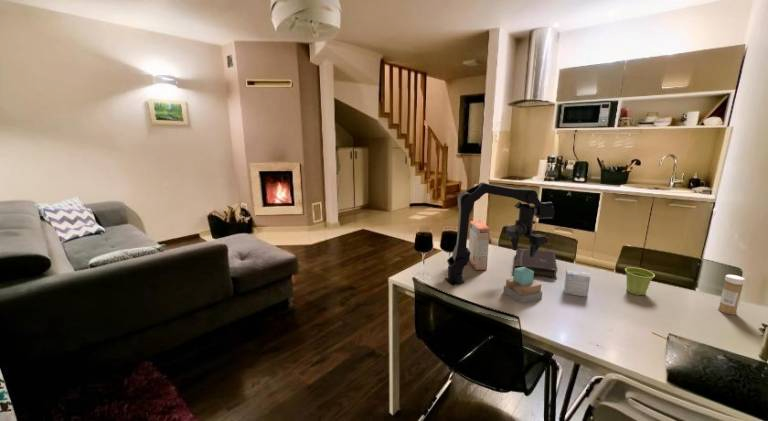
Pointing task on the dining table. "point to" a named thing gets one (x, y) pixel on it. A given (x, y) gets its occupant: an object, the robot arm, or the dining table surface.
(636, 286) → the plant pot
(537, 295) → the grey square slab
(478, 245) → the cracker box
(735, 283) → the sprinkles bottle
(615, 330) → the dining table surface
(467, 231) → the robot arm
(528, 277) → the teal cube
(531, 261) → the diary
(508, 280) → the tan square block
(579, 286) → the medicine box
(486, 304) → the dining table surface
